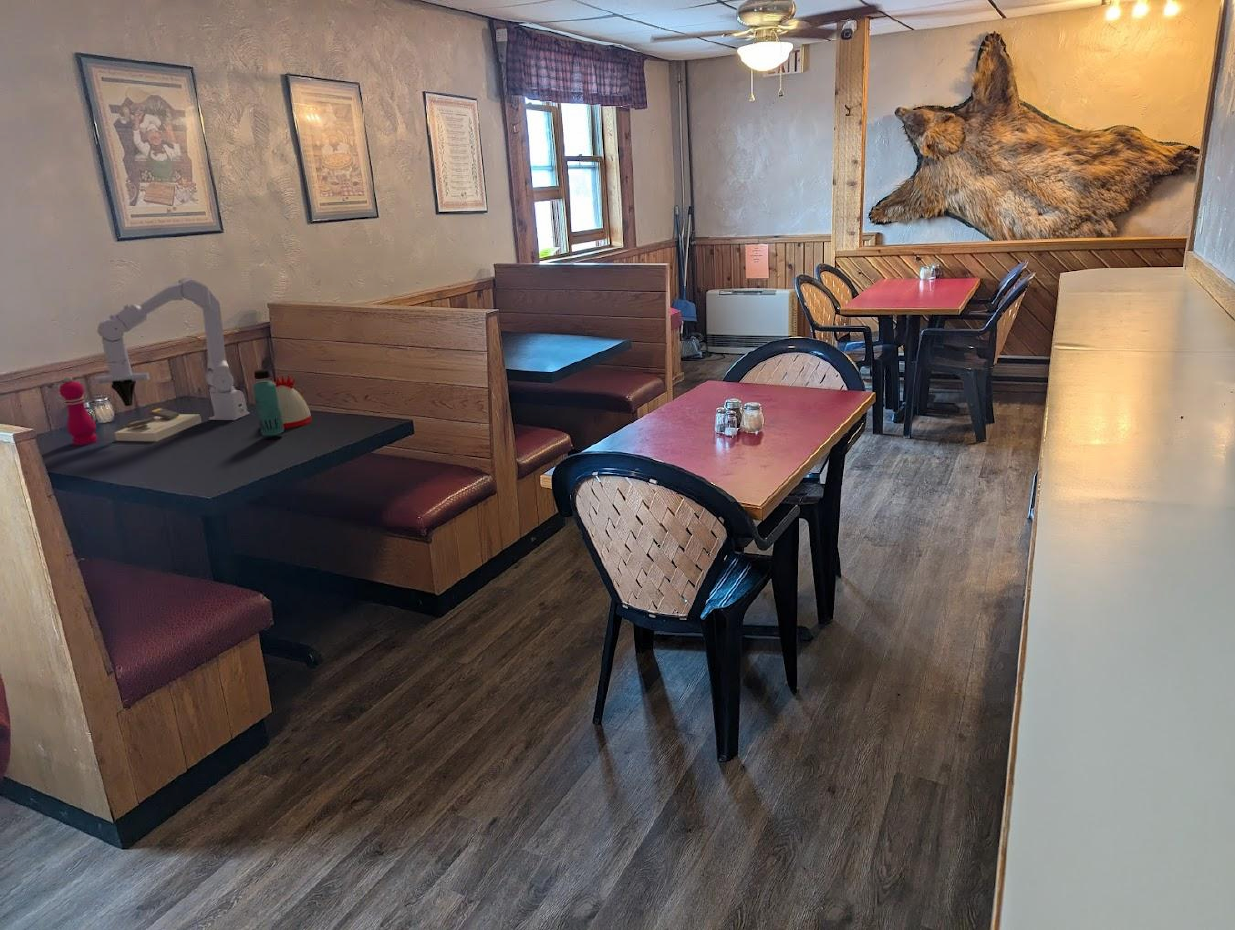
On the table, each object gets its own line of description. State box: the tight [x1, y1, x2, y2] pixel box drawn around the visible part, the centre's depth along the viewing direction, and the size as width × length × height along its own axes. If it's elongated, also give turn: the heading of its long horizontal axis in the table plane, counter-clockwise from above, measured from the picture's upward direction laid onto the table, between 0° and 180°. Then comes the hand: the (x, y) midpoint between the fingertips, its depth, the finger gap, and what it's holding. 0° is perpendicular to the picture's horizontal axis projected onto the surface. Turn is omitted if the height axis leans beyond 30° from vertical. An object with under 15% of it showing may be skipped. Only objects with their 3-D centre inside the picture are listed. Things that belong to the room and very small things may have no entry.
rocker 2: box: [149, 407, 180, 419], centre depth 265 cm, size 7×4×1 cm, turn 78°
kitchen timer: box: [270, 374, 312, 430], centre depth 261 cm, size 14×14×15 cm
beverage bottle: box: [252, 368, 285, 436], centre depth 245 cm, size 6×7×20 cm
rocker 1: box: [126, 416, 155, 428], centre depth 256 cm, size 7×4×1 cm, turn 77°
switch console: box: [114, 413, 202, 442], centre depth 261 cm, size 14×20×3 cm
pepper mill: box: [59, 376, 98, 446], centre depth 251 cm, size 7×7×20 cm
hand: (129, 405), depth 256 cm, fingers closed
